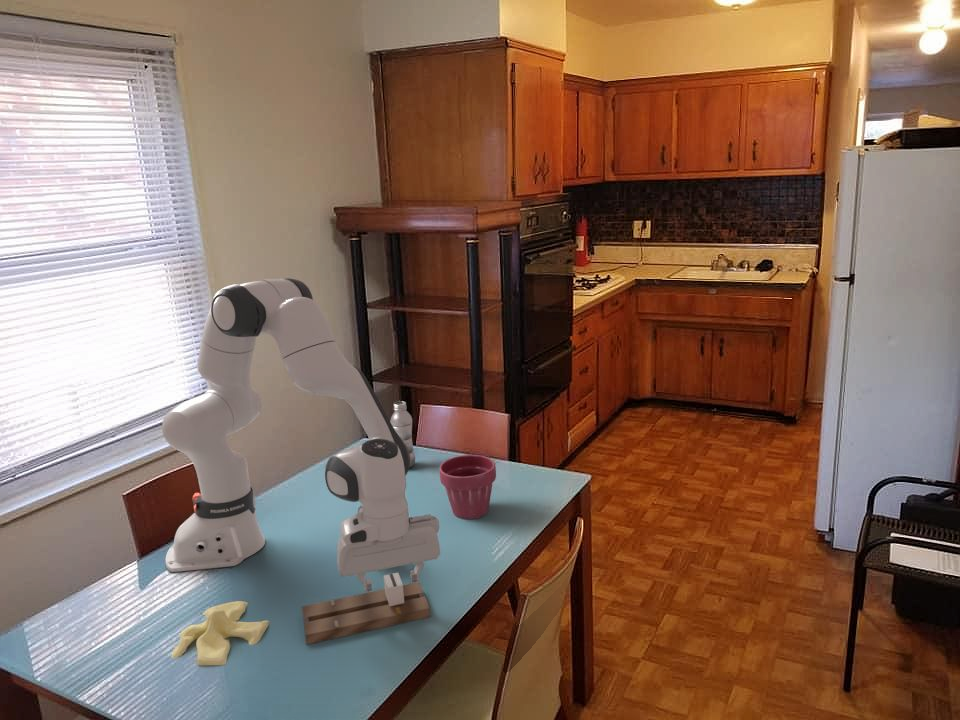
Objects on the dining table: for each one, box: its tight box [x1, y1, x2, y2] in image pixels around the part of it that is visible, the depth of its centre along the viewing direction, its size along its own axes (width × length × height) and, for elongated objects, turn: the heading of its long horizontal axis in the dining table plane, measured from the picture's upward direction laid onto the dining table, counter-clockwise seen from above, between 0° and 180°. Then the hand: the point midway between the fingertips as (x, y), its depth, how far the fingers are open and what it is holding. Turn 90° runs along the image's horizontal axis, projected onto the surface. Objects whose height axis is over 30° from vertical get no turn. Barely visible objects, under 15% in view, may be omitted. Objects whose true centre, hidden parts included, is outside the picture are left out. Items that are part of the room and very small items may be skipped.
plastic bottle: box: [389, 400, 416, 468], centre depth 215 cm, size 6×7×20 cm
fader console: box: [301, 581, 431, 645], centre depth 144 cm, size 24×10×2 cm, turn 107°
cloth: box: [170, 600, 270, 666], centre depth 140 cm, size 22×19×6 cm
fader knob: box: [383, 572, 404, 606], centre depth 145 cm, size 3×5×6 cm, turn 17°
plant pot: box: [439, 454, 497, 520], centre depth 185 cm, size 14×14×13 cm
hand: (391, 584), depth 145 cm, fingers open, 8 cm apart
